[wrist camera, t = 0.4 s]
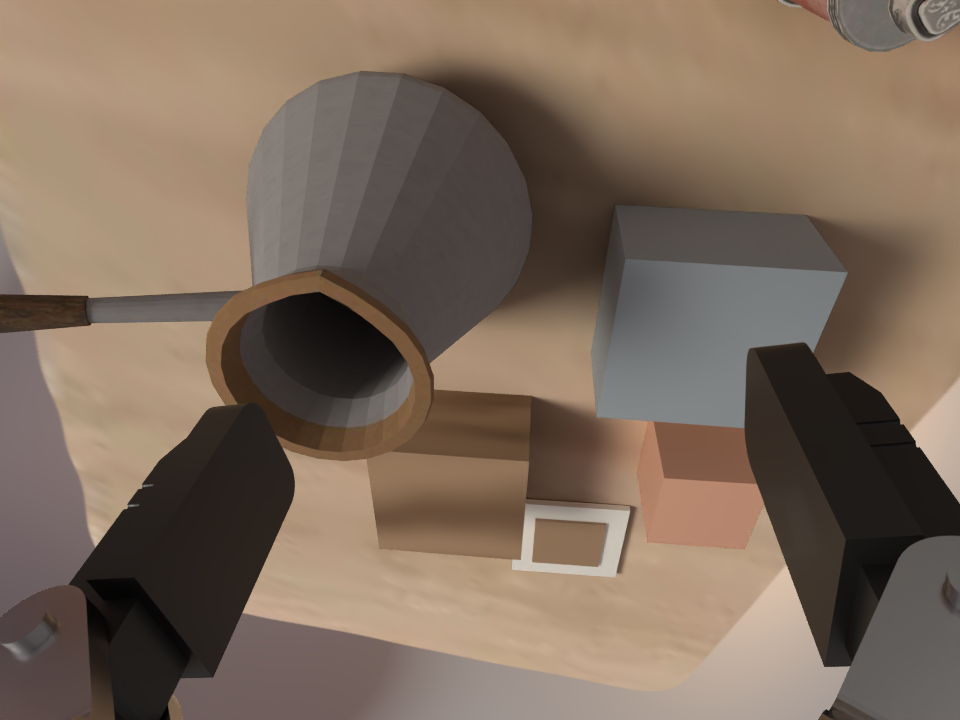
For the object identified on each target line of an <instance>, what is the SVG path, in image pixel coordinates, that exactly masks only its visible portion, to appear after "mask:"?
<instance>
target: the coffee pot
mask: <svg viewBox="0 0 960 720" xmlns="http://www.w3.org/2000/svg"><path fill="white" fill-rule="evenodd" d="M246 201H247V215H248V228H249V242H250V256H251V269H252V283H253V286H252V287H250V288H248V289H246V290H244V291H224V292H204V293H184V294H164V295H144V296H124V297H103V298H89V297H88V296H62V295H4V294H2V295H0V333H8V332H19V331H31V330H43V329H55V328H66V327H78V326H89V325H91V323H128V322H183V321H213V322H212V324H211V326H210V328H209V331H208V333H207V341H206V364H207V368H208V371H209V374H210V378H211V381H212V384H213V386H214V388H215V389H216V391H217V392H218V394H219V396H220V397H221V399H222V401H223V402H224V404H225V405H226V406H227V405H236V404H245V403H256V404H258V405H259V406H260V407H261V408H262V409H263V411H264V413H265V414H266V416H267V418H268V420H269V422H270V424H271V426H272V428H273V430H274V432H275V434H276V436H277V438H278V440H279V442H280V444H281V446H282V447H283V448H285V449H287V450H290V451H292V452H295V453H299V454H303V455H307V456H310V457H314V458H318V459H328V460H339V461H349V460H359V459H369V458H372V457H375V456H378V455H381V454H384V453H388V452H391V451H393V450H394V449H396V448H397V447H399V446H400V445H402V444H404V443H405V442H407V441H408V440H410V439H411V438H412V437H413V435H414V434H415V433H416V432H417V431H418V429H419V428H420V427H421V426H422V424H423V423H424V422H425V421H426V420H427V417H428V414H429V411H430V409H431V406H432V403H433V400H434V375H433V373H432V370H431V367H430V364H429V363H431V362H432V361H433V360H434V359H435V358H437V357H438V356H439V355H440V354H441V353H443V352H444V351H445V350H446V349H448V348H449V347H450V346H451V345H452V344H454V343H455V342H456V341H457V340H458V339H460V338H461V337H462V336H463V335H465V334H466V333H467V332H468V331H469V330H471V329H472V328H473V327H474V326H475V325H477V324H478V323H479V322H480V321H482V320H483V319H484V318H485V317H486V316H488V315H489V314H490V313H491V312H492V311H494V310H495V309H496V308H497V307H498V306H499V304H500V303H501V302H502V301H503V299H504V298H505V297H506V296H507V294H508V293H509V292H510V291H511V289H512V288H513V287H514V285H515V284H516V282H517V280H518V278H519V275H520V273H521V270H522V268H523V266H524V263H525V261H526V258H527V256H528V253H529V250H530V240H531V229H532V219H533V215H532V210H531V205H530V200H529V194H528V189H527V184H526V180H525V177H524V175H523V173H522V171H521V169H520V167H519V165H518V163H517V161H516V159H515V157H514V155H513V153H512V151H511V149H510V147H509V145H508V143H507V142H506V141H505V140H504V138H503V137H502V136H501V135H500V134H499V133H498V132H497V130H496V129H495V128H494V127H493V126H492V125H491V124H490V122H489V121H488V120H487V119H486V118H485V117H484V116H483V115H482V113H481V112H480V111H478V110H477V109H475V108H474V107H472V106H471V105H469V104H468V103H466V102H465V101H463V100H462V99H460V98H459V97H457V96H456V95H455V94H453V93H452V92H450V91H449V90H447V89H446V88H444V87H441V86H438V85H435V84H432V83H429V82H426V81H424V80H421V79H418V78H415V77H412V76H409V75H406V74H401V73H384V72H368V71H360V72H355V73H351V74H347V75H343V76H338V77H334V78H330V79H326V80H321V81H319V82H317V83H316V84H314V85H312V86H311V87H309V88H307V89H306V90H304V91H302V92H301V93H299V94H297V95H296V96H294V97H292V98H291V99H289V100H287V101H286V103H285V104H284V105H283V106H282V107H281V108H280V110H279V111H278V112H277V113H276V114H275V116H274V117H273V118H272V119H271V120H270V121H269V123H268V124H267V125H266V126H265V127H264V129H263V131H262V134H261V136H260V139H259V141H258V144H257V146H256V149H255V151H254V154H253V156H252V158H251V161H250V164H249V172H248V185H247V198H246Z"/></svg>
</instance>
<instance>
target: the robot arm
mask: <svg viewBox="0 0 960 720" xmlns="http://www.w3.org/2000/svg"><path fill="white" fill-rule="evenodd" d="M744 431H745V442H746V449H747V454H748V459H749V463H750V466H751V469H752V472H753V475H754V477H755V480H756V483H757V485H758V488H759V491H760V494H761V496H762V499H763V502H764V504H765V507H766V510H767V513H768V515H769V518H770V521H771V523H772V526H773V529H774V532H775V534H776V537H777V540H778V542H779V545H780V548H781V551H782V553H783V556H784V559H785V561H786V564H787V567H788V569H789V572H790V575H791V578H792V580H793V583H794V586H795V588H796V591H797V594H798V597H799V599H800V602H801V604H802V608H803V610H804V613H805V616H806V618H807V621H808V624H809V626H810V629H811V632H812V635H813V637H814V640H815V643H816V646H817V648H818V651H819V654H820V656H821V659H822V662H823V665H824V667H839V666H850V669H849V671H848V673H847V675H846V678H845V680H844V682H843V684H842V687H841V689H840V691H839V693H838V695H837V698H836V700H835V702H834V703H833V705H832V707H831V709H830V710H829V711H828V710H825V711H824V712H823V713H822V714H821V716H820V717H819V719H818V720H960V504H959V502H958V501H957V499H956V498H955V497H954V495H953V494H952V492H951V491H950V489H949V488H948V487H947V485H946V484H945V482H944V481H943V480H942V478H941V477H940V475H939V474H938V472H937V471H936V470H935V468H934V467H933V465H932V464H931V463H930V461H929V460H928V458H927V457H926V455H925V454H924V453H923V451H922V450H921V449H920V447H919V448H917V447H916V441H915V440H914V438H913V437H912V436H911V434H910V433H909V431H908V430H907V429H906V427H905V426H904V425H901V424H900V419H899V417H898V416H897V414H896V413H895V412H894V410H893V409H892V407H891V406H890V404H889V403H888V402H887V400H886V399H885V397H884V396H883V395H882V393H881V392H879V391H878V390H876V389H875V388H873V387H872V386H870V385H869V384H867V383H865V382H864V381H862V380H861V379H859V378H858V377H856V376H855V375H853V374H852V373H850V372H845V373H835V374H825V372H824V370H823V369H822V367H821V365H820V364H819V362H818V361H817V359H816V357H815V356H814V354H813V352H812V351H811V349H810V348H809V346H808V345H807V344H806V343H804V342H800V343H791V344H782V345H773V346H764V347H756V348H750V349H749V351H748V354H747V362H746V393H745V423H744ZM294 490H295V480H294V474H293V470H292V467H291V465H290V462H289V460H288V458H287V456H286V454H285V452H284V450H283V448H282V446H281V444H280V442H279V440H278V438H277V436H276V434H275V432H274V430H273V428H272V426H271V424H270V422H269V420H268V418H267V416H266V414H265V413H264V411H263V409H262V408H261V407H260V406H259V405H258V404H256V403H245V404H236V405H227V406H218V407H212V408H209V409H208V410H207V411H206V412H205V413H204V414H203V416H202V417H201V419H200V420H199V421H198V423H197V424H196V426H195V427H194V428H193V430H192V431H191V433H190V434H189V436H188V437H187V438H186V439H184V440H183V441H182V442H181V443H180V444H178V445H177V446H176V447H175V448H174V449H173V450H171V451H170V452H169V453H168V454H167V455H165V456H164V457H163V458H162V459H161V460H160V461H159V462H158V463H157V465H156V466H155V467H154V469H153V470H152V471H151V473H150V474H149V475H148V477H147V478H146V480H145V481H144V482H143V484H142V489H138V491H137V492H136V493H135V495H134V496H133V497H132V499H131V500H130V501H129V503H128V504H127V505H128V509H124V510H123V511H122V512H121V514H120V515H119V516H118V518H117V519H116V521H115V522H114V523H113V525H112V526H111V527H110V529H109V530H108V531H107V533H106V534H105V536H104V537H103V538H102V540H101V541H100V542H99V544H98V545H97V546H96V548H95V549H94V551H93V552H92V553H91V555H90V556H89V558H88V559H87V560H86V561H85V563H84V564H83V566H82V567H81V568H80V570H79V571H78V572H77V574H76V575H75V577H74V578H73V579H72V581H71V582H70V583H69V585H59V586H54V587H50V588H47V589H44V590H42V591H39V592H37V593H35V594H33V595H31V596H30V597H27V598H26V599H24V600H22V601H21V602H19V603H18V604H16V605H15V606H13V607H12V608H11V609H9V610H8V611H7V612H6V613H4V614H3V615H2V616H1V617H0V720H183V716H182V711H181V707H180V704H179V702H178V700H177V699H176V698H175V696H174V695H173V692H174V690H175V688H176V686H177V684H178V682H179V680H180V678H207V677H214V674H215V672H216V670H217V668H218V665H219V663H220V661H221V659H222V656H223V654H224V652H225V650H226V648H227V645H228V643H229V641H230V639H231V636H232V634H233V632H234V630H235V628H236V625H237V623H238V621H239V619H240V616H241V614H242V612H243V610H244V608H245V605H246V603H247V601H248V599H249V597H250V594H251V592H252V590H253V588H254V585H255V583H256V581H257V579H258V576H259V574H260V572H261V570H262V568H263V565H264V563H265V561H266V559H267V556H268V554H269V552H270V550H271V548H272V545H273V543H274V541H275V539H276V536H277V534H278V532H279V530H280V528H281V525H282V523H283V521H284V519H285V516H286V514H287V512H288V510H289V508H290V505H291V503H292V500H293V497H294Z"/></svg>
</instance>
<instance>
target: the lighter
mask: <svg viewBox="0 0 960 720" xmlns="http://www.w3.org/2000/svg"><path fill="white" fill-rule="evenodd" d="M777 1H779V2H781V3H783V4H785V5H788V6H790V7H803V8H805V9H807V10H809V11H811V12H812V13H814V14H816V15H818V16H820V17H822V18H823V19H825V20H827V21H829V22H831V23H832V26H833V28H834V29H835V30H836V31H837V32H838V33H839V34H840V36H841V37H842V38H843V39H845V40H846V41H848V42H850V43H851V44H853V45H855V46H857V47H860V48H862V49H864V50H867V51H869V52H887V51H890V50H893V49H896V48H899V47H902V46H904V45H906V44H908V43H910V42H911V41H913V40H915V39H919V40H922V41H925V42H927V41H932V40H936V39H938V38H939V37H941V36H943V35H944V34H946V33H948V32H949V31H950V30H952V29H953V28H955V27H956V26H957V25H959V24H960V0H777Z"/></svg>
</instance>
